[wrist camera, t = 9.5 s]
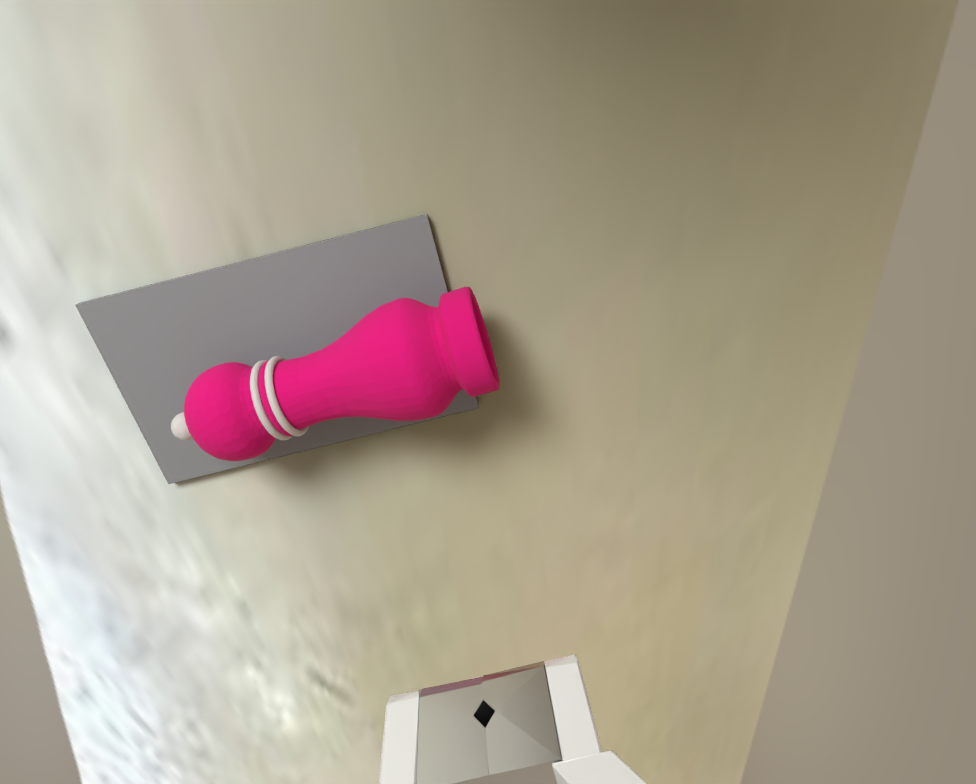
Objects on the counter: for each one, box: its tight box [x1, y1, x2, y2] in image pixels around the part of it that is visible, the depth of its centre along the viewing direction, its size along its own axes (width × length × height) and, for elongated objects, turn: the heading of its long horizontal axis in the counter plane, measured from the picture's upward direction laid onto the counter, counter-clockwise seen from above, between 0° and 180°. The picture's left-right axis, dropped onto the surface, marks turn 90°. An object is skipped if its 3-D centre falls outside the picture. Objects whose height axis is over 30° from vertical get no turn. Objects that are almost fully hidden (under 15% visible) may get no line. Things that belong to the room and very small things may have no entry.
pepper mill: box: [171, 287, 500, 461], centre depth 36 cm, size 7×7×20 cm
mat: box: [76, 214, 479, 484], centre depth 39 cm, size 22×13×1 cm, turn 103°
